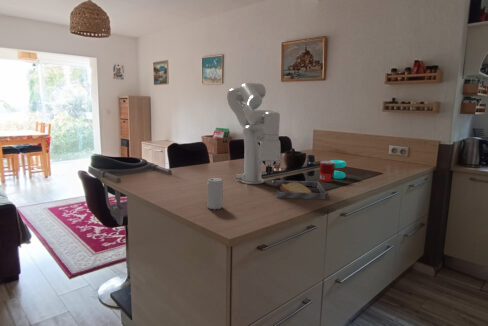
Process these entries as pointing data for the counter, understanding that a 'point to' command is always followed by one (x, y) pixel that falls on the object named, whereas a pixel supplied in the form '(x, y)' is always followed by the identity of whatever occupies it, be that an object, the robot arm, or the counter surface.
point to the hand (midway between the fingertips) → (268, 173)
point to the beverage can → (214, 193)
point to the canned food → (327, 171)
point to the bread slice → (294, 188)
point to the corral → (320, 195)
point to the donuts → (339, 165)
